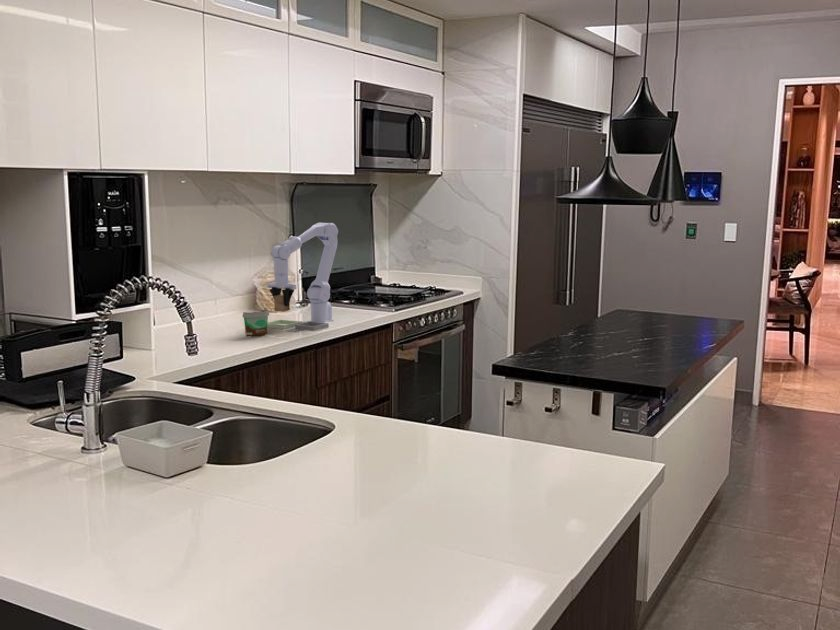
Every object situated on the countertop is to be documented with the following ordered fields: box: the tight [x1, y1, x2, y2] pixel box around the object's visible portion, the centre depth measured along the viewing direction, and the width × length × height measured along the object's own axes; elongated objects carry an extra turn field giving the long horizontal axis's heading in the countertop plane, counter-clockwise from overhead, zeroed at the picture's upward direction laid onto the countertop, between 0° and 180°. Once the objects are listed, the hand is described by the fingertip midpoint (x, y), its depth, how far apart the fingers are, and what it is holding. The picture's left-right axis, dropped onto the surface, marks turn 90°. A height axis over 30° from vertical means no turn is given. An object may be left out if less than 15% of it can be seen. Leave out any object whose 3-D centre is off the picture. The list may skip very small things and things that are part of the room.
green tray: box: [267, 318, 303, 330], centre depth 357 cm, size 12×12×2 cm
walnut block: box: [273, 294, 291, 313], centre depth 355 cm, size 4×4×6 cm
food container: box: [242, 308, 270, 338], centre depth 337 cm, size 12×6×10 cm, turn 143°
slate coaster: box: [284, 328, 304, 333], centre depth 346 cm, size 6×6×1 cm
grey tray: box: [294, 321, 329, 332], centre depth 352 cm, size 10×10×2 cm
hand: (282, 305), depth 356 cm, fingers closed on walnut block, 4 cm apart
